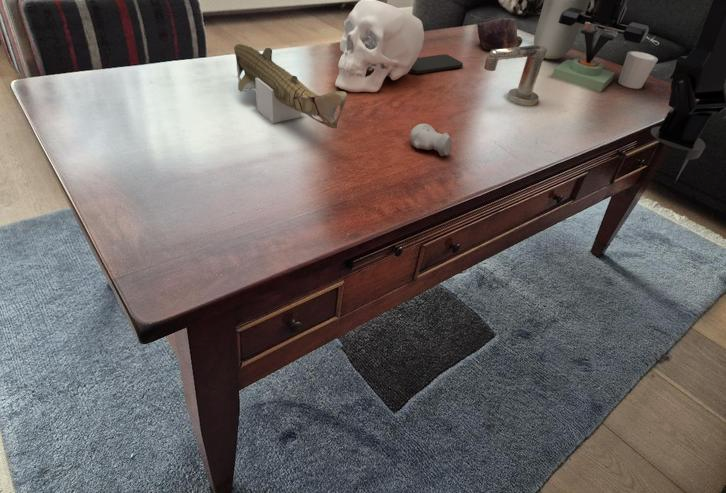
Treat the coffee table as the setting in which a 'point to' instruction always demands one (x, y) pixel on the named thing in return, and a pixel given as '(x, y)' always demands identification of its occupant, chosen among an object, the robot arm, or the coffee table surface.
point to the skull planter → (377, 45)
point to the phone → (435, 64)
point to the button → (588, 63)
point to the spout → (513, 54)
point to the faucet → (527, 83)
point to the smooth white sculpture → (430, 139)
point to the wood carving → (283, 90)
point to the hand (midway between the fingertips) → (588, 62)
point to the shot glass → (636, 69)
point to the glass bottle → (557, 27)
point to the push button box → (583, 74)
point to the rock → (498, 34)
